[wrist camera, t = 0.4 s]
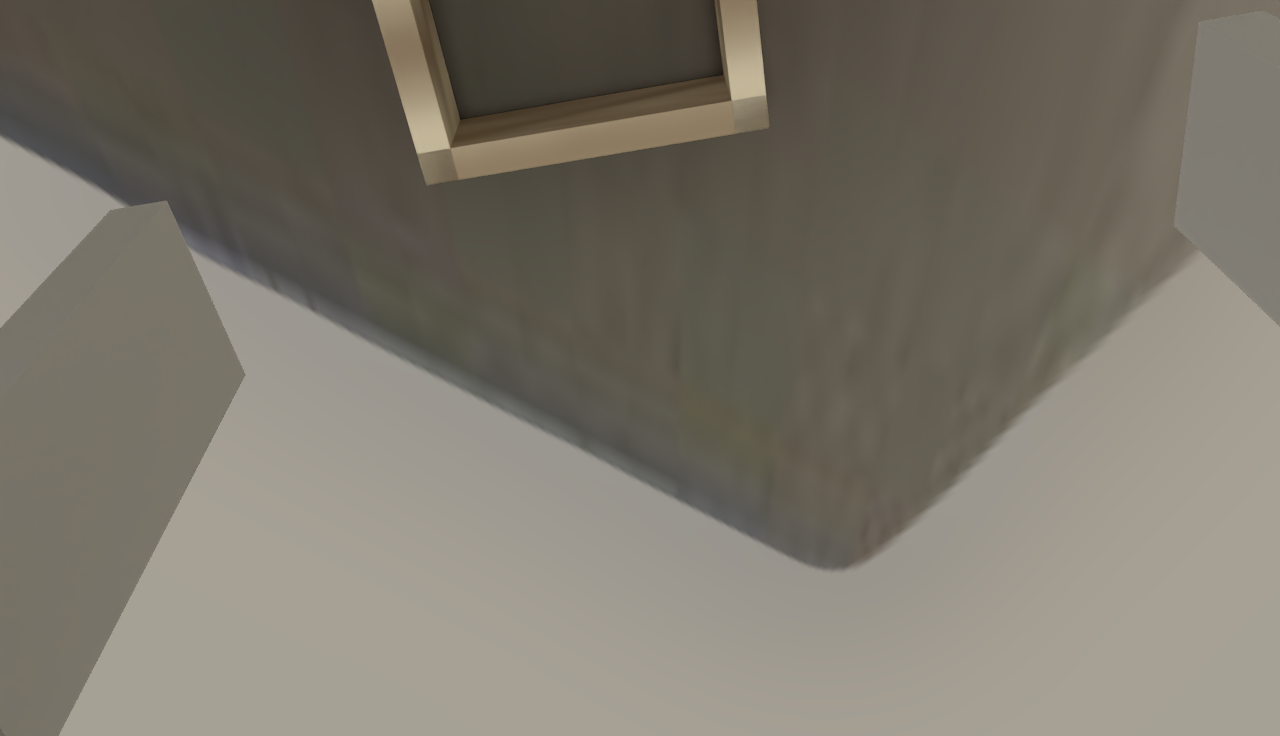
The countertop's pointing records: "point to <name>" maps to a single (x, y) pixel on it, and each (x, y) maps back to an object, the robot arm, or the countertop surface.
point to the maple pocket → (568, 103)
